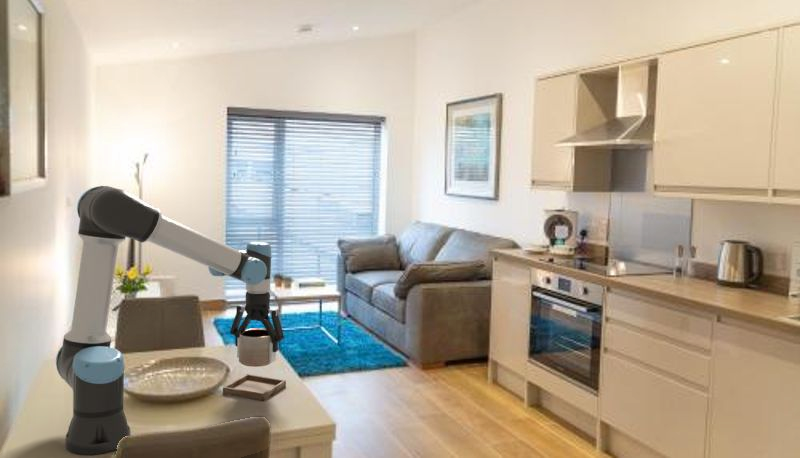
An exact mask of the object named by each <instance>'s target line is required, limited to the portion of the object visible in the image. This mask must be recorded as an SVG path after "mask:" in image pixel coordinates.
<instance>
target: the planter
mask: <svg viewBox="0 0 800 458" xmlns="http://www.w3.org/2000/svg"><path fill="white" fill-rule="evenodd" d="M270 342H272V340H271V338H270V336H269V334H268V332H267V330H266V328H248V329H247V328H246V329H245V330H244V331H241V332H240V340H239V358H238V362H239V364H241V365H243V366H246V367H253V368H258V367H259V368H260V367H265V366H268V365H270V364H271V363H269V350H270Z"/></svg>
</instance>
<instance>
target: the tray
mask: <svg viewBox="0 0 800 458" xmlns="http://www.w3.org/2000/svg"><path fill="white" fill-rule="evenodd" d="M286 386H287V380H286V379H285V380H284V379H279V378H273V377H267V376H262V375H256V374H255V375H254V374H250V373H247V374H245V375H243V376H241V377H239V378H238V379H236V380H234V381H232V382H230V383H228V384H227V385H225V386H223V387H222V394H224V395H228V396H233V397H240V398H245V399H251V400H255V401H261V402H265V401H266V400H268V399H269V398H270V397H272V396H274V395H275V394H277V393H278V392H280V391H282V390H283V389H284V388H286Z"/></svg>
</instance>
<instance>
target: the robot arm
mask: <svg viewBox="0 0 800 458" xmlns="http://www.w3.org/2000/svg"><path fill="white" fill-rule="evenodd" d="M76 211H77V215H78V218H79V225H78V232H77V233H78V234H77V235H78V236H79V237H80V238H81V240H82V242H83V243H82V249H81V256H80V263H79V270H78V271H79V272H78V278H77V284H76V285H77V286H76V292H75V299H74V300H75V301H74V307H73V315H72V321H71V329H70V330H69V331H68V332H66V333H65V334H64V335H63V339H62V346H61V347H60V348H59V349H58V351H57V355H56V358H55V367H56V370H57V373H58V375H59V376H60V377H61V379H63V380H64V382H65V383H66V384H67V385H68V386H69V387H70V388H71V389H72V395H73V396H72V409H73V410H72V411H73V413H72V417H71V421H70V423H69V426H68V430H67V433H66V434H65V439H64V442H65V443H64V445H65V448H66V450H67V451H68V452H70V453H73V454H76V455H85V456H86V455H87V456H89V455H100V454H107V453H110V452H114V451H117V450H116V448H117V445H118V443H119V441H120V440H121V439H122V438H123V437H125V436H130V437H131V428H130V426H129V424H128V421H127V416H126V414H125V410H124V396H125V395H124V394H125V393H124V392H125V391H124V389H125V387H124V386H125V383H124V381H125V369H126V366H125V361H124V356H123V353H122V352H121V351H120V350H119V349H116V348H114V347H111V343H112V337H111V336H110V334H109V333H108V332H107V327H108V321H109V314H110V307H111V306H110V305H111V299H112V293H113V286H114V278H115V271H116V264H117V256H118V250H119V249H118V248H119V245H120V244H121V243H122V242H125V240H126V238H129V239H131V240H135V241H137V242H139V243H142V244H145V243H146V242H149V243H151V244H154V245H155V246H159V247H161V248H164V249H166V250H168V251H171V252H173V253H175V254H177V255H180V256H182V257H185V258H186V259H190V260H192V261H194V262H196V263H199V264H201V265H204V266H205V267H208V271H209V274H210V275H212V276H213V277H221V278H222V277H225V276H226V277H230V278H232V279H234V280H237V281H240V282H243V283H245V290H246V292H245V305H244V304H240V305H237V306H236V311H235V312H236V314H235V316H234V319H233V321H232V325H231V328H230V331H229V334H230V335H233V336H234V337H235V341H234V342H235V344H234V346H235V347H237V350H236V357H237V358H238V359H239V340H240V332H241V331H244V330H247V327H248V326H249V324H250V323H251V322H252V321H257V322H260V323H261V324H262V325H263V326H264V329H266V330H267V332H268V334H269V336H270V338H271V340H272V342H270V350H269V363H270V364H272V363H274V362H276V353H277V352H278V350H279V342H281V341H282V340H284V339H285V335H284V332H283V328H282V325H281V321H280V316H279V313H280V311H279V309H278V308H276V309H275V308H274V309H273V308H272V309H271V308H270V302H271V292H270V290H271V273H272V272H271V269H272V267H271V266H272V257H273V256H272V246H271V244H270V243H268V242H264V241H263V242H262V241H251V242H247V244H246V248H245V249H238V250H237V249H236V248H234V247H232V246H231V245H230V246H229V245H227V244H225V243H223V242H220V241H218V240H217V239H214V238H212V237H210V236H208V235H206V234H203V233H201V232H200V231H198V230H195V229H192V228H191V227H188V226H187V225H184V224H182V223H180V222H178V221H176V220H173V219H171V218H169V217H166V216H164V215H162V213H161V210H160V209H159V208H156V207H155V206H152V205H151V204H149V203H147V202H145V201H144V200H141V199H140V198H138V197H137V196H135V195H134V194H132V193H130V192H129V191H126V190H124V189H120V188H116V187H113V186H109V185H100V186H98V185H97V186H94V187H90V188H88V189H87V190H86V191H84V192H83V194H82V195H80V197H79V199H78V201H77V206H76ZM244 312H246V315H245V317H244V319H243V315H244ZM269 316H270V317H271V318H270V317H269ZM242 319H243V321H242ZM241 321H242V322H241Z"/></svg>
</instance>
